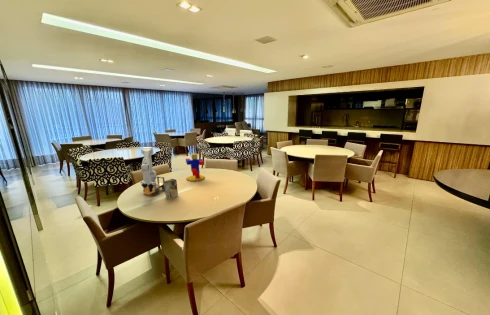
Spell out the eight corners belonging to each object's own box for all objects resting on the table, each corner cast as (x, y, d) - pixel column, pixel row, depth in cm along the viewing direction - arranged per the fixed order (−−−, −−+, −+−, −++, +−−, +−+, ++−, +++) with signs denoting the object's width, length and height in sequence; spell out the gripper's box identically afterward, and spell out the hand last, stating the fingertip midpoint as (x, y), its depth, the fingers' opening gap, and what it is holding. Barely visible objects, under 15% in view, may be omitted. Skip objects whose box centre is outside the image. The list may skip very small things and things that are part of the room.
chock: (144, 193, 173) (144, 188, 172) (150, 190, 179) (150, 185, 178) (149, 194, 171) (148, 188, 170) (154, 191, 178) (154, 186, 177)
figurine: (203, 174, 241) (201, 151, 234) (206, 180, 222) (205, 154, 215) (185, 177, 233) (183, 152, 226) (187, 183, 213) (185, 156, 206)
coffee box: (173, 194, 185) (172, 178, 181) (178, 195, 181) (176, 179, 178) (165, 197, 177) (163, 181, 173) (170, 199, 174) (168, 182, 170)
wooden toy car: (155, 195, 181) (153, 183, 178) (143, 194, 185) (142, 181, 182) (167, 189, 197) (166, 177, 194) (156, 187, 201) (155, 176, 198)
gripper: (136, 177, 169) (138, 192, 172) (149, 179, 165) (151, 194, 168) (143, 175, 176) (145, 189, 179) (155, 176, 171) (157, 191, 175)
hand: (148, 191), depth 174 cm, fingers closed on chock, 5 cm apart
